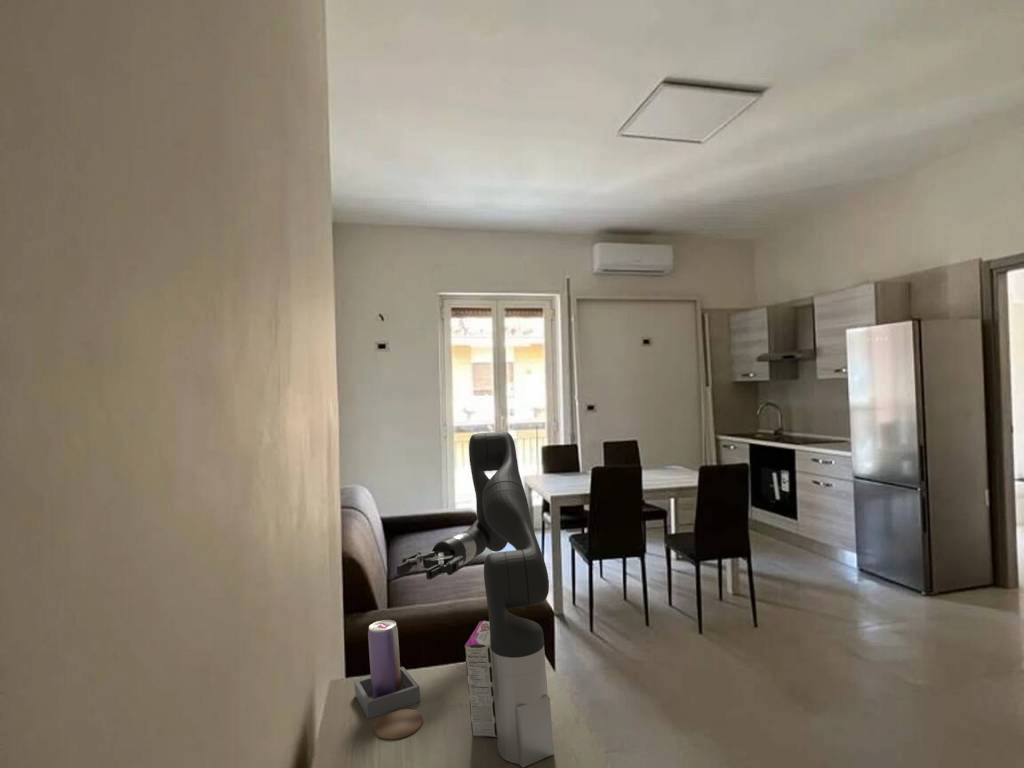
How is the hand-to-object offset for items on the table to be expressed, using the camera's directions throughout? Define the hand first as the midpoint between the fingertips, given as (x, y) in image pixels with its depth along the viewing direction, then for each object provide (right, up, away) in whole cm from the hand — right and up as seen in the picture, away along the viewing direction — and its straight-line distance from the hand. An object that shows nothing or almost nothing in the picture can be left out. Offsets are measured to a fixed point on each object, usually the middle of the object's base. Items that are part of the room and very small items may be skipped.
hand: (412, 573), depth 126 cm
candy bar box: (+18, -21, -21) cm, 35 cm away
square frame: (-3, -23, -10) cm, 25 cm away
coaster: (+1, -22, -20) cm, 30 cm away
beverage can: (-3, -23, -10) cm, 25 cm away
